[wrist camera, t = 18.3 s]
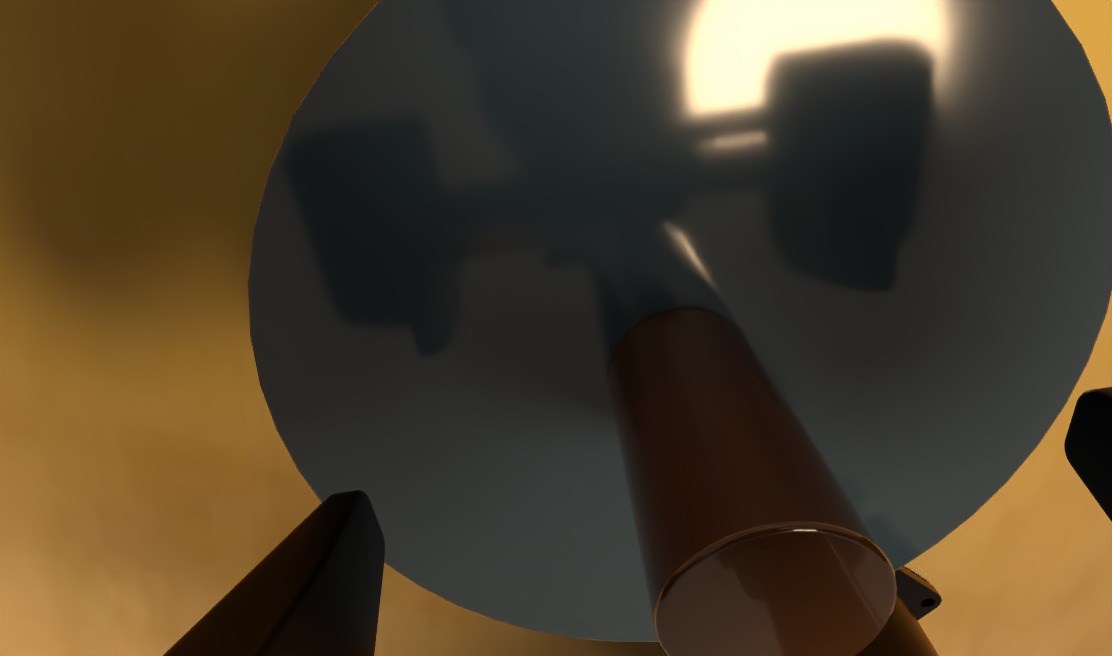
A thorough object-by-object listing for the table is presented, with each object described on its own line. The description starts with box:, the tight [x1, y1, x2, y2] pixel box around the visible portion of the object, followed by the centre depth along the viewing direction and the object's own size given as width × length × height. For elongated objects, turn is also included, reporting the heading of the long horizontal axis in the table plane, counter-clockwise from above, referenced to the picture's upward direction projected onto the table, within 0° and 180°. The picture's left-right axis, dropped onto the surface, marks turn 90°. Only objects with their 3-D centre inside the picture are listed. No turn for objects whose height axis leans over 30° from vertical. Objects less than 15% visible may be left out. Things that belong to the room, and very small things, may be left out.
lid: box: [248, 0, 1112, 656], centre depth 9 cm, size 14×14×6 cm
